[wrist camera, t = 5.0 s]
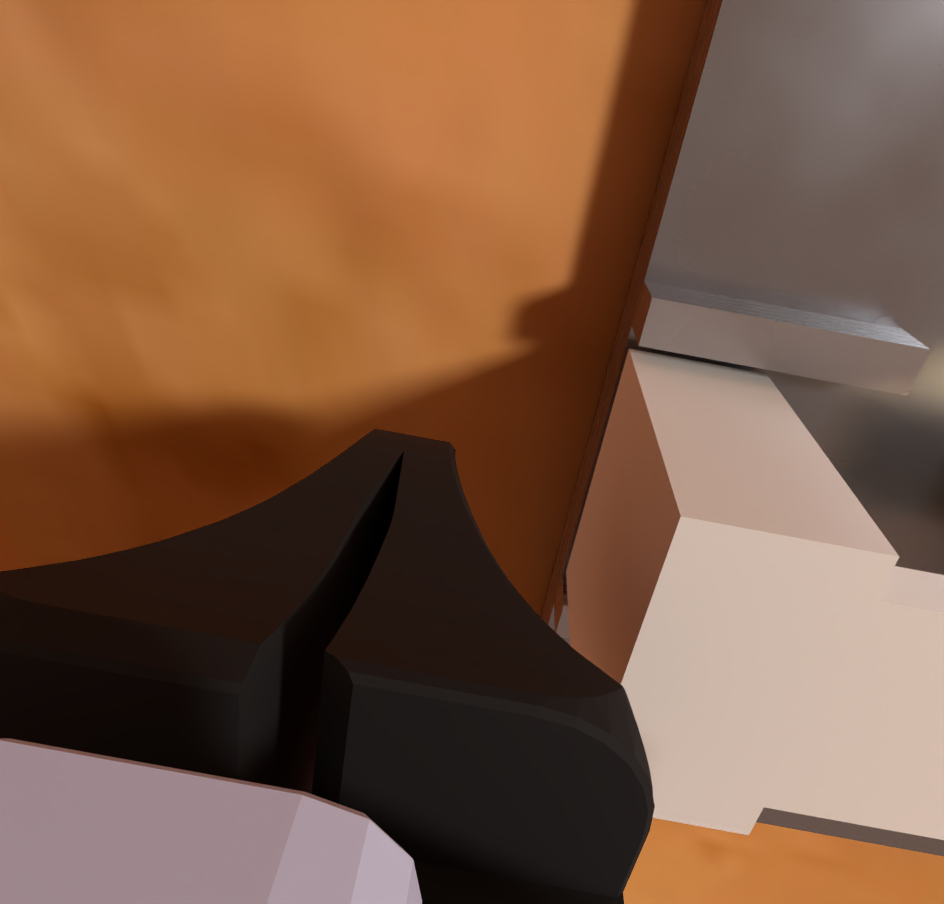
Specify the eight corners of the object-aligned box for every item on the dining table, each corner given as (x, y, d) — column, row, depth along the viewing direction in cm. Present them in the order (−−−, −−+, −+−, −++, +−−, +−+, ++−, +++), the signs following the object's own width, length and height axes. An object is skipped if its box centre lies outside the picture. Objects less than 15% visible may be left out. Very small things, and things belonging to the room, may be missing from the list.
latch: (829, 620, 15) (961, 874, 10) (566, 571, 15) (577, 804, 10) (939, 405, 13) (1172, 607, 8) (629, 348, 13) (681, 516, 8)
